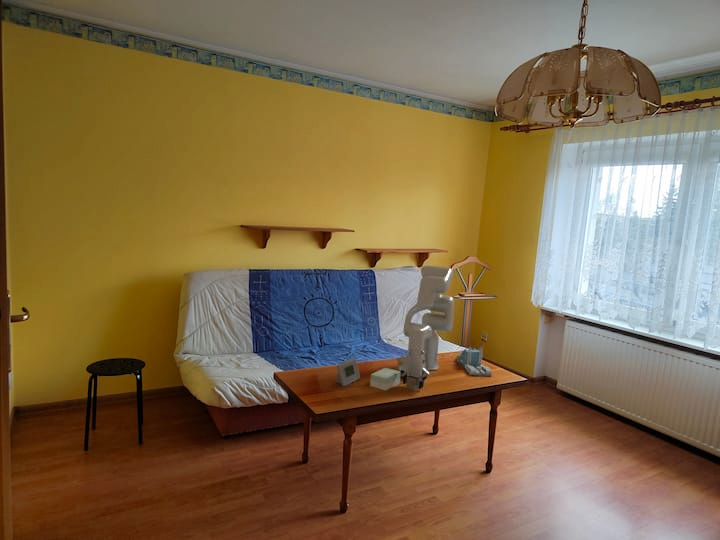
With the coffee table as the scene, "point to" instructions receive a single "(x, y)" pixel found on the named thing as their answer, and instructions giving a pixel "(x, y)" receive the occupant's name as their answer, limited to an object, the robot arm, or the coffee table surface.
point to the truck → (473, 362)
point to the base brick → (385, 378)
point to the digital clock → (348, 372)
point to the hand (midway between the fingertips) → (412, 385)
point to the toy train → (401, 362)
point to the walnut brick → (412, 382)
